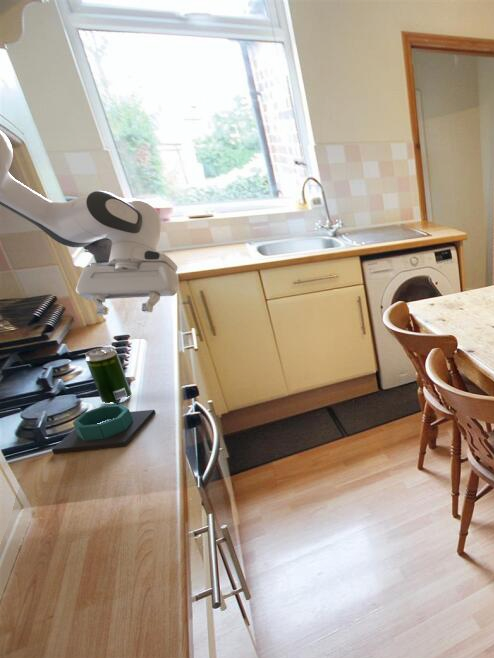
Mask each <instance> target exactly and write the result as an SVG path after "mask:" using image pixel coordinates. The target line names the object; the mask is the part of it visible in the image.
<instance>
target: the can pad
mask: <svg viewBox="0 0 494 658" xmlns="http://www.w3.org/2000/svg"><path fill="white" fill-rule="evenodd" d="M155 415H156V411H155V409H148V410H147V409H145V410H135V411H130V408H128V407H127V406H126V405H124V404H123V403H119V404H115V405H102V406H99V407H97V408H94V409H91V410H87V411H85V412H83V413H82V414H80V415H79V416H78V417H77V418H76V419H74V420H73V421H72V425H73V426H74V429H73V430H72V431H71V432H70V433H68V434H67V435H66V436H65V437H64V438H63V439H62V440H61V441H59V442H58V443H57V444H56V445H55V446H54V447H52V448H51V451H52V453H53V455H54V454H63V453H73V452H74V453H75V452H83V451H92V450H102V449H103V450H104V449H113V448H122V447H123V448H124V447H127V446H128V445H129V444H130V442H132V440H133V439H134V438H135V437H136V436H137V435H138V434H139V433H140V432H141V430H142V429H143V428H144V427H145V426H146V425H147V424H148V423H149V422H150V421H151V419H152V418H153V417H154V416H155ZM113 418H114V419H113ZM107 419H111V420H109V421H106V422H103V423H101V424H97V423H100V422H102V421H105V420H107Z"/></svg>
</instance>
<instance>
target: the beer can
mask: <svg viewBox="0 0 494 658" xmlns="http://www.w3.org/2000/svg"><path fill="white" fill-rule="evenodd" d="M84 355H85V358H84V359H85V363H86V366H87V367H88V369H89V372H90V375H91V377H92V379H93V382H94V385H95V388H96V391H97V393H98V395H99V397H100V400H101V402H102V403H103V402H105V403H110V402H116V401H118V400H119V399H121V398H122V397H128V396H130V395H131V396H132V394H133V393H132V390H131V388H130V384H129V382H128V379H127V376H126V374H125V371H124V368H123V365H122V362H121V359H120V358H119V354H118V352H117V350H116V349H115V348H114V347H113V346H103V347H97V348H94V349H91V350H88V351H87V352H85V354H84Z"/></svg>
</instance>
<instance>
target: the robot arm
mask: <svg viewBox="0 0 494 658" xmlns="http://www.w3.org/2000/svg"><path fill="white" fill-rule="evenodd" d="M13 158H14V150H13V147H12V144H11V142H10V140H9V138H8V137H7V135H6V134H5V133H4V132H3V131H2V130H0V206H1V207H3V208H5V209H7V210H9V211H10V212H12V213H14V214H16V215H18V216H19V217H21V218H22V219H25V220H27V221H28V222H30V223H31V224H34V226H36V227H37V228H39V229H40V230H42V232H44V233H45V235H47V236H48V237H50V238H51V239H53V240H54V241H56V242H57V243H58V244H61V245H63V246H66V247H70V248H83V247H86V246H88V245H91V244H92V243H95V242H96V241H99V240H102V239H104V238H106V239H108V240H110V241H111V247H110V253H109V258H108V261H105V262H104V261H103V262H91V263H90V264H87V265H86V266H83V268H82V271H81V274H80V276H79V278H78V281H77V284H76V287H75V292H76V293H77V294H78V295H79V296H80V297H82V298H83V299H85V300H89V301H91V300H92V301H93V303H94V304H95V306H96V307H95V313H96V314H97V315H99V316H106V315H109V307H107V306H106V305H104V303H105V302H106V300H112V299H133V298H136V299H137V298H148V299H147V301H146V302H142V303H141V311H142V312H143V313H153V310H154V306H155V305H156V304H157V303H158V302H160V299H161V297H173V296H175V295H176V294H177V293H178V291H179V285H180V283H179V275H178V273H177V271H178V266H177V264H176V262H175V261H173V259H171V257H169V256H168V255H167V254H165V253H164V252H161V251H157V245H158V244H159V242H160V237H161V229H162V228H161V227H162V225H161V217H160V214H159V211H158V210H157V208H156V207H154V206H153V205H152V204H150V203H149V202H146V200H145V201H144V200H142V199H139V198H138V199H137V198H130V199H127V198H122V197H119V196H117V195H116V194H113V193H111V192H107V191H104V190H95V191H92V192H89V193H86V194H83V195H81V196H78V197H76V198H73V199H71V200H68V201H65V202H64V201H63V202H59V201H52V200H49V199H48V198H46V197H44V196H42V195H41V194H39V193H38V192H36V191H35V190H32V189H31V188H30V187H28V186H26V185H24V184H23V183H22V182H20V181H19V180H17V179H15V177H13V176H12V174H11V173H10V171H9V170H10V168H11V165H12V162H13Z"/></svg>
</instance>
